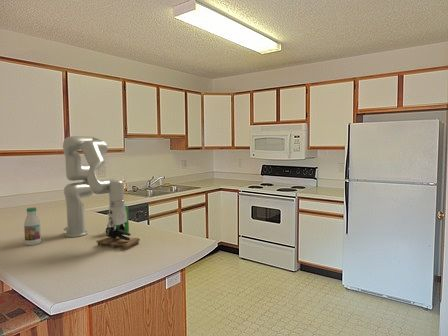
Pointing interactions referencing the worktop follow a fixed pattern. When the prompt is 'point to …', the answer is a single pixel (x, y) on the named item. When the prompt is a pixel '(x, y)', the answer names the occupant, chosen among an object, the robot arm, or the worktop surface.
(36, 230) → the milk bottle
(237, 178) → the worktop surface
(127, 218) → the motor
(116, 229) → the can opener
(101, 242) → the stand
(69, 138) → the robot arm
